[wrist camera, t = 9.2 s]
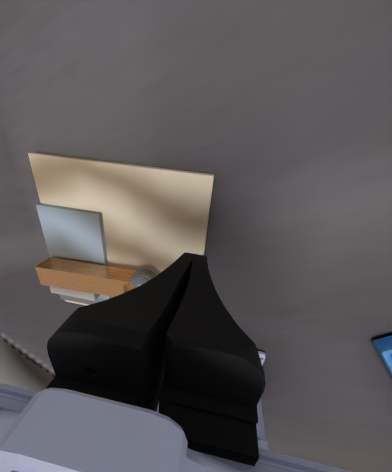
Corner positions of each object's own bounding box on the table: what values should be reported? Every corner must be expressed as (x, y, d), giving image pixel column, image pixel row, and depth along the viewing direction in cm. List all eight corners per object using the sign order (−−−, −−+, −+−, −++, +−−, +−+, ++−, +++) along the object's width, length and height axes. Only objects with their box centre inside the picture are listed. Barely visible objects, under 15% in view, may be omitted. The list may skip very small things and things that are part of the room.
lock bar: (159, 270, 22) (152, 282, 20) (159, 293, 23) (153, 306, 21) (49, 254, 23) (33, 263, 21) (55, 276, 24) (42, 287, 23)
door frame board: (195, 320, 27) (190, 344, 24) (70, 296, 29) (51, 315, 25) (214, 174, 18) (211, 181, 15) (36, 152, 20) (1, 154, 17)
